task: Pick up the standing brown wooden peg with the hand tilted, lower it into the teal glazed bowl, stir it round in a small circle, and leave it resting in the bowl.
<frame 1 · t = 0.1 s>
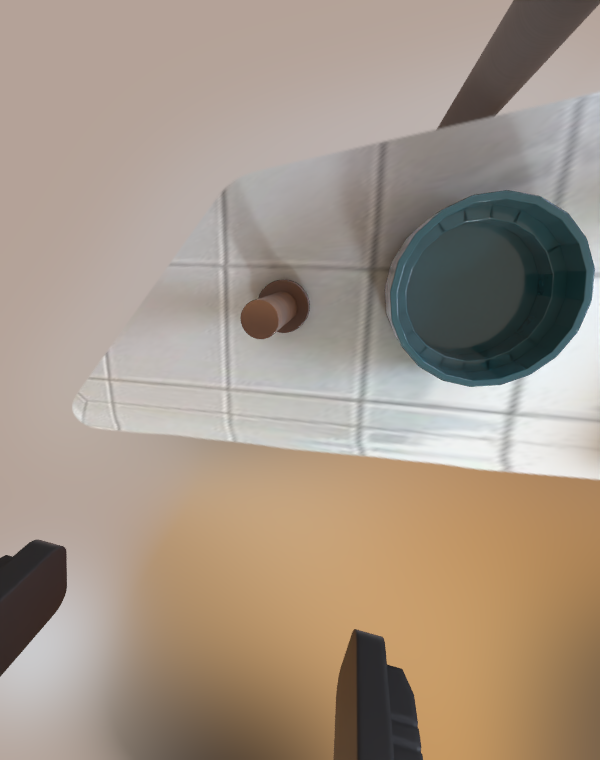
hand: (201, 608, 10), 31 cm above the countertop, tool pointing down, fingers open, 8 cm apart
bowl: (466, 291, 35), on the countertop
brown wooden peg: (284, 305, 38), on the countertop
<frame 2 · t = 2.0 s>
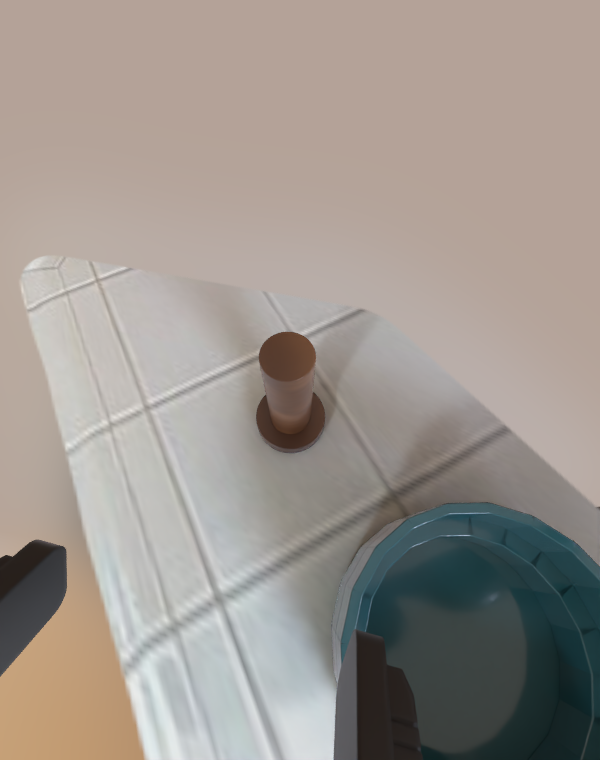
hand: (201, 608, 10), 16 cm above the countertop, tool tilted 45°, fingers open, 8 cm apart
bowl: (453, 641, 23), on the countertop
brown wooden peg: (290, 420, 29), on the countertop
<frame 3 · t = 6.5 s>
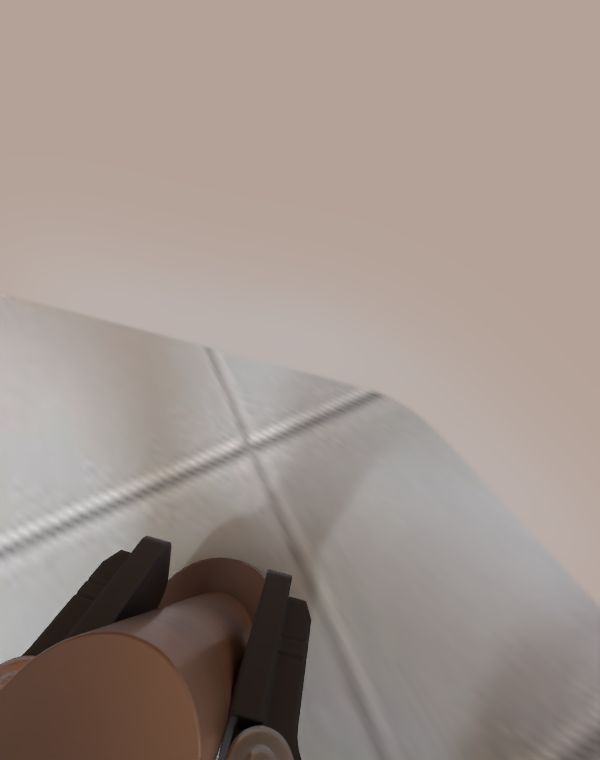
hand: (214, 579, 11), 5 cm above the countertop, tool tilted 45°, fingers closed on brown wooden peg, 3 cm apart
brown wooden peg: (217, 634, 14), on the countertop, touching gripper
when the fingers open (5 cm above the countertop, at t = 17.4 s): brown wooden peg stays where it is, resting on bowl.
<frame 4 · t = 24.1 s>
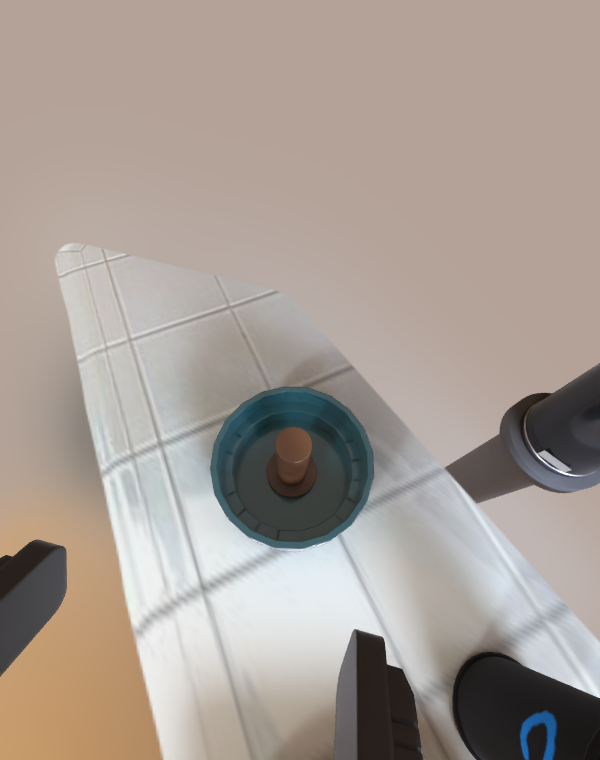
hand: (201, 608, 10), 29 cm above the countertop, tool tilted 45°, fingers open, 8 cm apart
aerosol can: (498, 709, 32), on the countertop
bowl: (291, 474, 40), on the countertop
brown wooden peg: (291, 473, 39), point 1 cm above the countertop, touching bowl
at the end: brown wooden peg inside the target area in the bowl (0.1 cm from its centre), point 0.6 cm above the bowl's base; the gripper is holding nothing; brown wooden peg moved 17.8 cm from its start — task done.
